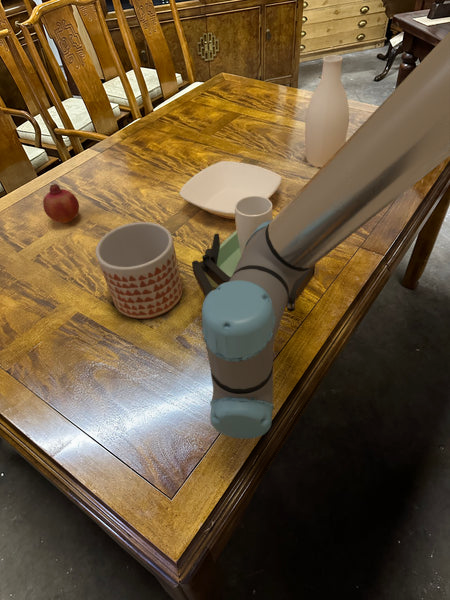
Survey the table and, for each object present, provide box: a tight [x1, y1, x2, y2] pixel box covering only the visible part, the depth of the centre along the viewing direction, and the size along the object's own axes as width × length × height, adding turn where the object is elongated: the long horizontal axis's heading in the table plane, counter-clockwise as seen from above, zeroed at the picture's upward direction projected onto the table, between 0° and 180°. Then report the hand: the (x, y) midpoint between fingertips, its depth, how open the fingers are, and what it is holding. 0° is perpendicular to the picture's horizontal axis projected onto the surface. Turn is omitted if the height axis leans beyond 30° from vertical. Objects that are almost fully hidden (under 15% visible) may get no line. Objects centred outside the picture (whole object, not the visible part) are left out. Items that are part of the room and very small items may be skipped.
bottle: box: [304, 54, 350, 169], centre depth 106 cm, size 11×11×25 cm
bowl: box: [178, 160, 283, 220], centre depth 102 cm, size 22×22×5 cm
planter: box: [95, 221, 184, 320], centre depth 78 cm, size 14×14×13 cm
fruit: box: [42, 183, 80, 224], centre depth 100 cm, size 8×8×10 cm
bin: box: [205, 229, 241, 289], centre depth 83 cm, size 16×16×5 cm
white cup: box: [234, 196, 274, 256], centre depth 79 cm, size 7×7×15 cm
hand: (254, 239), depth 75 cm, fingers open, 13 cm apart
